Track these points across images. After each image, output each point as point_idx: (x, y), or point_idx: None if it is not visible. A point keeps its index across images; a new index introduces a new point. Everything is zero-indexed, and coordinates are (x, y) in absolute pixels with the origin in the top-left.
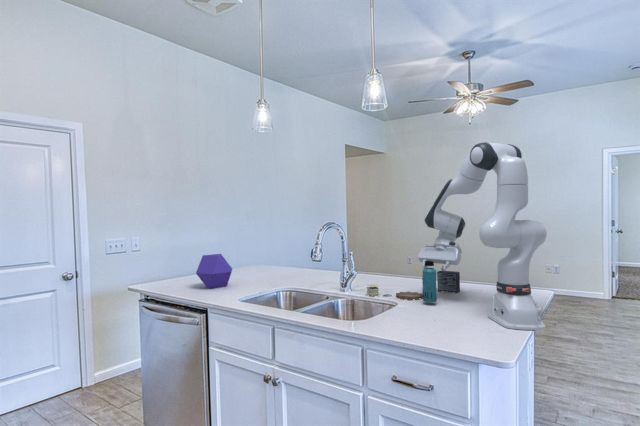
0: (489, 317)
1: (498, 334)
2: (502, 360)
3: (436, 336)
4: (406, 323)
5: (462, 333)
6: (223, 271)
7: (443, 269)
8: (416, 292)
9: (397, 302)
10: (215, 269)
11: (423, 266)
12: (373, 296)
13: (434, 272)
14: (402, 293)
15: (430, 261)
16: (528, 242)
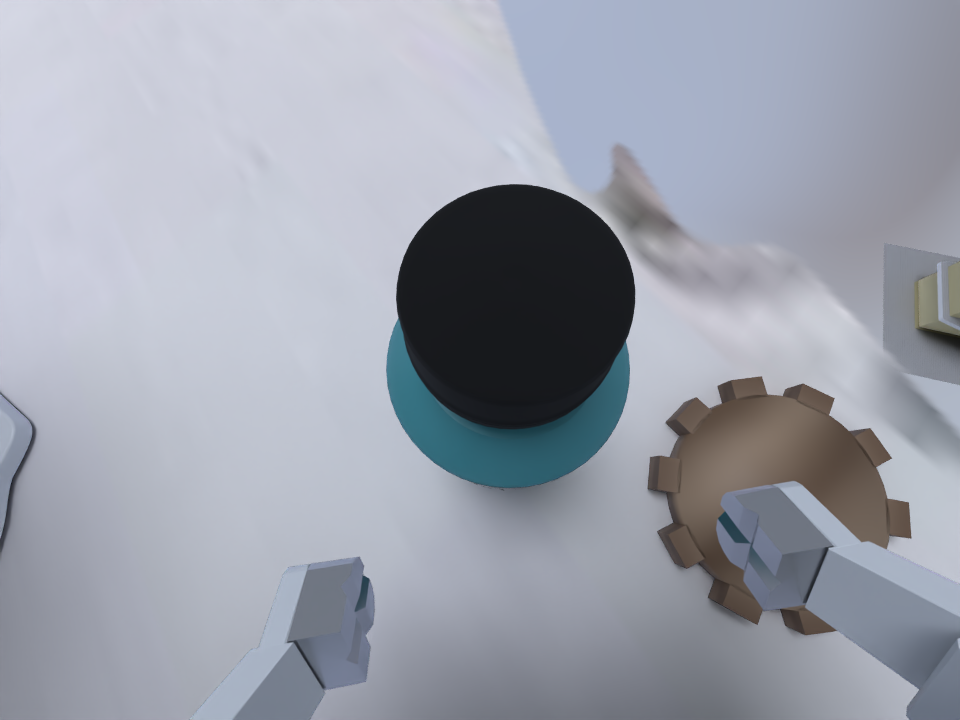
0: (15, 410)
1: None
2: None
3: (141, 6)
4: (333, 37)
5: (66, 99)
6: None
7: (311, 566)
8: (813, 624)
9: (680, 296)
10: None
11: (785, 488)
12: (923, 283)
13: (390, 351)
14: (844, 477)
15: (445, 250)
16: None
